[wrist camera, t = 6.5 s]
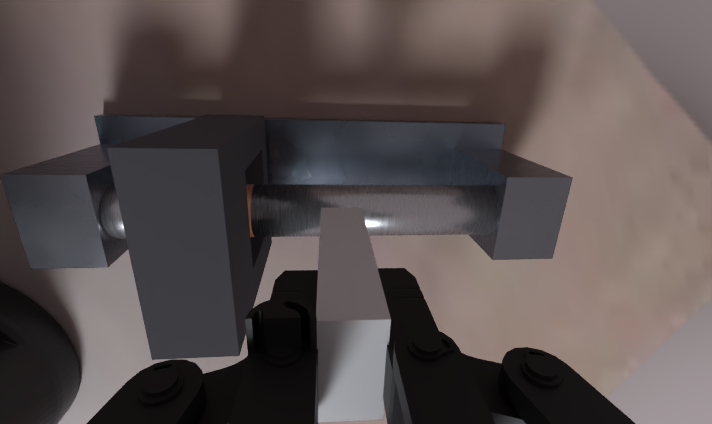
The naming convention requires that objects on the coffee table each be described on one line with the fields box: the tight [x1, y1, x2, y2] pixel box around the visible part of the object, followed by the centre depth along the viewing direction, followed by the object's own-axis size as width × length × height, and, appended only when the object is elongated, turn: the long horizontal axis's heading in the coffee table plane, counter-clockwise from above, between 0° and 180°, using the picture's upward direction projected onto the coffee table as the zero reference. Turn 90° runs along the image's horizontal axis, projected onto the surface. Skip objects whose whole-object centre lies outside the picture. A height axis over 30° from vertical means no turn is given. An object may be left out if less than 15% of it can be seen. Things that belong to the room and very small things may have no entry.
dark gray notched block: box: [107, 115, 272, 360], centre depth 16 cm, size 3×8×10 cm, turn 178°
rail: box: [0, 114, 573, 269], centre depth 19 cm, size 23×7×7 cm, turn 88°
